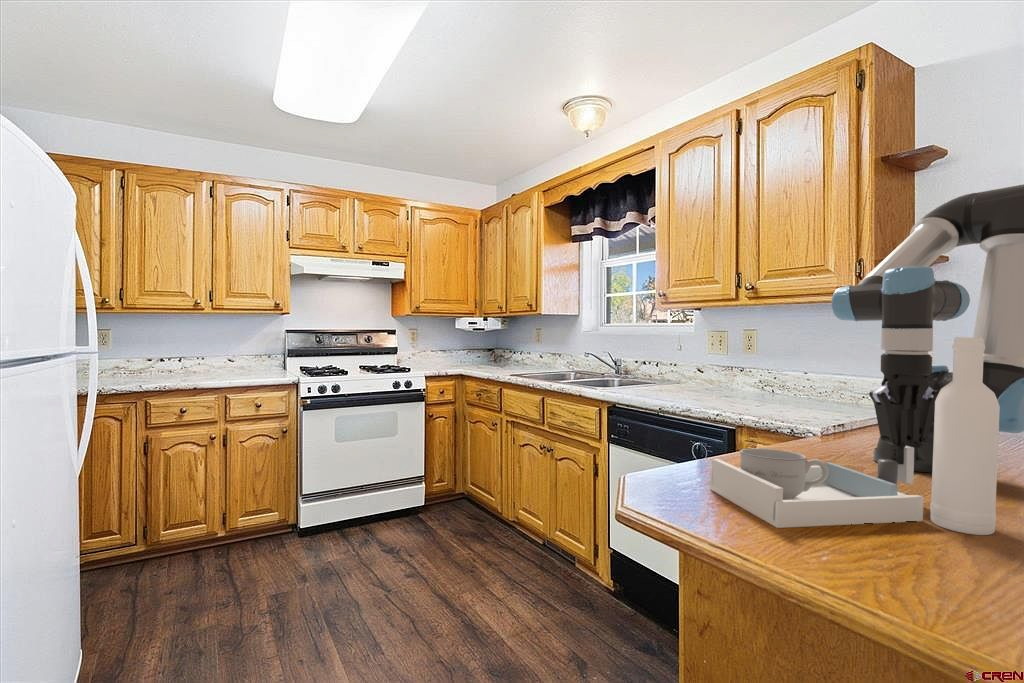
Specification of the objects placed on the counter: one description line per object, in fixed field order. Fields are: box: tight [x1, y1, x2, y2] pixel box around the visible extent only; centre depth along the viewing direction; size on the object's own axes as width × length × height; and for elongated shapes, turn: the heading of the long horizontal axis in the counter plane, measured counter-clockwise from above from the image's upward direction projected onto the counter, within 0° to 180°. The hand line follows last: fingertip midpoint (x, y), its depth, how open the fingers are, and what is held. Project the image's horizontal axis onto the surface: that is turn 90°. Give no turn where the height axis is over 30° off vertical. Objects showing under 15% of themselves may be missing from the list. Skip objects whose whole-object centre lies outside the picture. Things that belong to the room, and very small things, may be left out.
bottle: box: [929, 336, 1000, 536], centre depth 84 cm, size 8×8×30 cm
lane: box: [709, 458, 925, 529], centre depth 95 cm, size 33×20×6 cm, turn 99°
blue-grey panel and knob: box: [824, 459, 899, 497], centre depth 96 cm, size 8×15×6 cm, turn 9°
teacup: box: [739, 447, 829, 500], centre depth 94 cm, size 14×11×8 cm
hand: (903, 481), depth 97 cm, fingers closed
